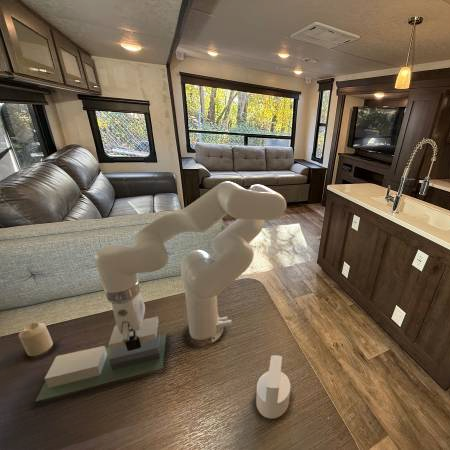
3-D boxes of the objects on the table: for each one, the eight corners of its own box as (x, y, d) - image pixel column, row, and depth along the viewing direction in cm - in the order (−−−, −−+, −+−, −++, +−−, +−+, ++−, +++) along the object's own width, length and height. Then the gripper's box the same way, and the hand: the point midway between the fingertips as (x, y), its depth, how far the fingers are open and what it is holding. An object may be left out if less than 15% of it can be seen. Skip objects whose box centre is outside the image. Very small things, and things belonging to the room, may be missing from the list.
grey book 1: (160, 338, 78) (159, 333, 78) (158, 353, 74) (157, 347, 73) (115, 348, 74) (113, 343, 73) (110, 364, 69) (108, 359, 68)
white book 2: (107, 354, 74) (106, 349, 74) (100, 375, 68) (98, 370, 68) (60, 364, 70) (58, 360, 69) (48, 388, 64) (46, 383, 63)
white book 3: (158, 320, 77) (157, 316, 76) (156, 338, 71) (155, 333, 70) (116, 329, 72) (114, 325, 72) (110, 349, 67) (108, 344, 66)
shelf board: (166, 337, 83) (165, 334, 83) (163, 371, 72) (162, 368, 72) (59, 361, 73) (58, 357, 72) (36, 405, 62) (34, 401, 61)
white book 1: (106, 349, 74) (104, 345, 73) (98, 370, 68) (97, 366, 67) (58, 360, 69) (56, 356, 69) (46, 383, 63) (44, 379, 63)
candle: (38, 361, 72) (26, 336, 68) (23, 356, 73) (11, 331, 69) (59, 346, 77) (49, 321, 73) (44, 342, 78) (34, 317, 74)
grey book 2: (161, 343, 79) (160, 338, 78) (159, 358, 75) (158, 353, 74) (116, 353, 75) (115, 348, 74) (111, 370, 70) (110, 364, 69)
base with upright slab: (259, 382, 72) (260, 353, 67) (290, 385, 72) (293, 356, 67) (253, 416, 64) (253, 386, 59) (287, 420, 64) (291, 389, 59)
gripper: (133, 308, 59) (147, 359, 66) (144, 268, 74) (154, 314, 81) (95, 315, 56) (114, 368, 64) (114, 273, 71) (127, 319, 78)
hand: (136, 337), depth 72 cm, fingers closed on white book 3, 7 cm apart
